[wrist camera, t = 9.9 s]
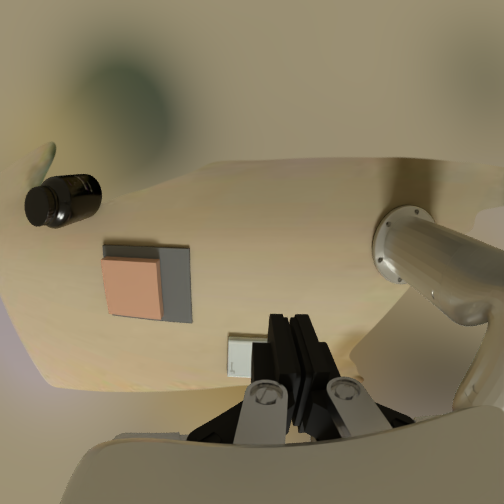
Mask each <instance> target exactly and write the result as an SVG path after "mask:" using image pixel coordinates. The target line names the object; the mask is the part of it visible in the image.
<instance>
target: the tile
mask: <svg viewBox="0 0 504 504" xmlns="http://www.w3.org/2000/svg"><path fill="white" fill-rule="evenodd" d="M101 265H102V273H103V280H104V287H105V293H106V299H107V305H108V310H109V314H115V315H122V316H131V317H139V318H148V319H158V320H161V319H162V317H163V315H164V310H163V299H162V288H161V274H160V259H147V258H128V257H109V256H106V257H104V258H103V259H101Z"/></svg>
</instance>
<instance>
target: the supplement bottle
mask: <svg viewBox="0 0 504 504" xmlns="http://www.w3.org/2000/svg"><path fill="white" fill-rule="evenodd" d="M101 200H102V191H101V187H100V185H99V183H98V181H97V180H96V179H95V178H94V177H93V176H91V175H87V174H76V175H64V176H54V177H50V178H48V179H46V180H45V181H44V182H43V183H42V184H41V186H38V187H34V188H32V189H31V190H30V191H29V192H28V194H27V195H26V198H25V214H26V217H27V218H28V220H29V222H30V223H31V224H32V225H34V226H36V227H37V226H43V225H46V226H48V227H50V228H54V229H56V228H61V227H64V226H66V225H69V224H72V223H75V222H78V221H81V220H84V219H86V218H89V217H91V216H93V215H94V214H95V213H96V212H97V211H98V209H99V207H100V204H101Z"/></svg>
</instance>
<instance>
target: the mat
mask: <svg viewBox="0 0 504 504" xmlns="http://www.w3.org/2000/svg"><path fill="white" fill-rule="evenodd" d="M103 256H104V257H106V256H109V257H128V258H147V259H160V274H161V288H162V299H163V310H164V315H163V317H162V319H161V320H158V319H148V318H139V317H131V316H123V317H131V318H139V319H148V320H158V321H169V322H180V323H192V303H191V278H190V248H169V247H144V246H119V245H103ZM112 315H115V314H112ZM115 316H122V315H115Z"/></svg>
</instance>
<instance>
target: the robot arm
mask: <svg viewBox="0 0 504 504" xmlns="http://www.w3.org/2000/svg"><path fill="white" fill-rule="evenodd" d="M386 223H387V224H386ZM372 254H373V260H374V264H375V266H376V268H377V270H378V271H379V273H380V274H381V275H382V276H383V277H384V278H385V279H387V280H388V281H390V282H392V283H396V284H406V283H408V284H409V285H410V286H411V287H413V288H414V289H415V290H417V291H418V292H419V293H420V294H421V295H423V296H424V297H425V298H426V299H428V300H429V301H430V302H431V303H432V304H433V305H435V306H436V307H437V308H438V309H439V310H441V311H442V312H443V313H444V314H445V315H446V316H447V317H448V318H450V319H451V320H452V321H453V322H455V323H457V324H459V325H463V326H477V325H481V324H484V323H487V322H488V327H487V330H486V333H485V335H484V337H483V340H482V343H481V345H480V347H479V349H478V351H477V353H476V355H475V357H474V359H473V361H472V363H471V365H470V367H469V369H468V370H467V372H466V374H465V376H464V378H463V379H462V381H461V383H460V385H459V387H458V389H457V391H456V393H455V396H454V399H453V404H452V412H449V413H446V414H443V415H435V416H423V417H415V418H414V419H413V420H412V419H411V418H410V417H408V416H407V415H404V414H401V413H399V412H397V411H394V410H392V409H390V408H387V407H385V406H382V405H380V404H378V403H375V402H374V401H373V399H372V398H371V396H370V395H369V394H368V392H367V391H366V389H365V388H364V386H363V385H362V384H361V383H360V382H359V381H357V380H355V379H353V378H350V377H341V376H340V374H339V371H338V369H337V366H336V364H335V362H334V359H333V357H332V355H331V352H330V350H329V347H328V345H327V343H326V342H319V341H318V338H317V336H316V333H315V331H314V328H313V325H312V323H311V320H310V318H309V315H308V314H295V317H291V318H290V324H289V322H288V318H287V317H283V314H270V317H269V328H268V339H267V343H266V342H252V355H251V384H250V385H249V386H248V387H247V389H246V391H245V395H244V400H243V401H242V402H240V403H238V404H237V405H235V406H234V407H232V408H230V409H229V410H227V411H226V412H224V413H222V414H221V415H219V416H217V417H216V418H214V419H212V420H211V421H209V422H207V423H206V424H204V425H202V426H200V427H198V428H197V429H195V430H194V431H192V432H191V433H190V434H189V435H180V434H179V432H178V433H122V434H120V435H118V436H116V437H115V438H114V439H113V440H111V441H107V442H103V443H100V444H98V445H96V446H94V447H93V448H91V449H90V450H89V451H88V452H87V453H86V454H85V455H84V456H83V458H82V459H81V461H80V462H79V464H78V465H77V467H76V469H75V471H74V473H73V474H72V476H71V479H70V480H69V482H68V485H67V487H66V490H65V492H64V494H63V497H62V500H61V502H60V504H504V251H503V250H501V249H498V248H495V247H493V246H491V245H489V244H486V243H484V242H481V241H479V240H477V239H474V238H472V237H469V236H467V235H464V234H462V233H459V232H457V231H454V230H452V229H449V228H446V227H444V226H441V225H438V224H435V222H434V220H433V218H432V217H431V215H430V214H429V213H428V212H427V211H425V210H424V209H422V208H420V207H417V206H412V205H404V206H401V207H398V208H396V209H394V210H392V211H391V212H390V213H388V214H387V215H386V216H385V217H384V219H383V220H382V221H381V223H380V224H379V226H378V228H377V230H376V233H375V235H374V240H373V246H372ZM378 258H379V259H378ZM291 420H292V422H293V425H294V426H298V432H299V433H304V432H305V433H307V434H309V435H311V437H310V440H311V442H303V443H289V444H285V436H286V434H287V433H288V432H289V428H290V423H291Z"/></svg>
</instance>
